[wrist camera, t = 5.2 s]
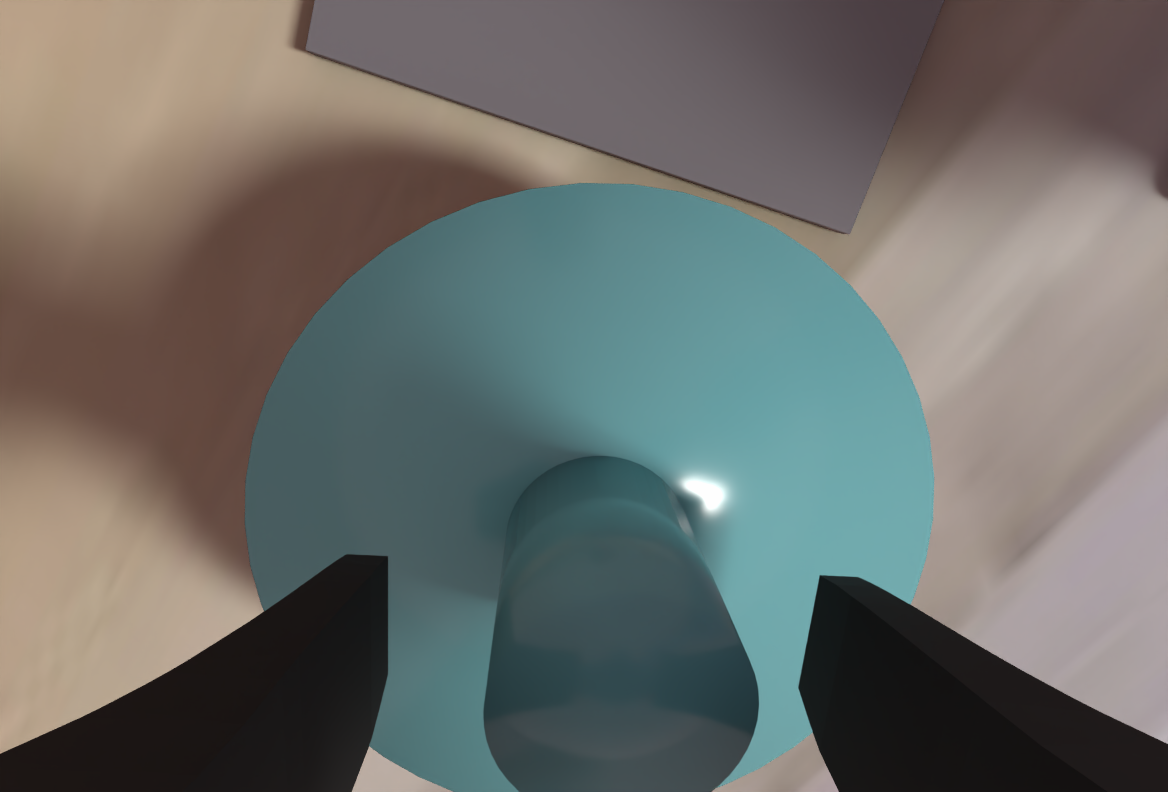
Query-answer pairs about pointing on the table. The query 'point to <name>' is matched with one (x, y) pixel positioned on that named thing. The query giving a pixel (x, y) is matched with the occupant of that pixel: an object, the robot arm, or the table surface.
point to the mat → (667, 81)
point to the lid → (593, 483)
